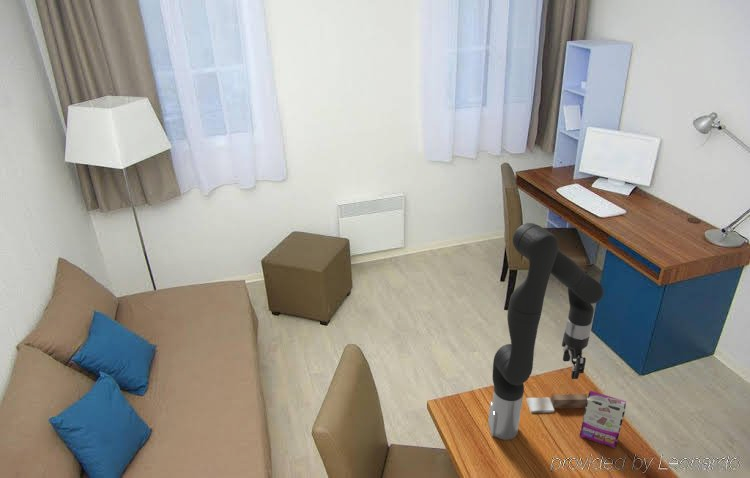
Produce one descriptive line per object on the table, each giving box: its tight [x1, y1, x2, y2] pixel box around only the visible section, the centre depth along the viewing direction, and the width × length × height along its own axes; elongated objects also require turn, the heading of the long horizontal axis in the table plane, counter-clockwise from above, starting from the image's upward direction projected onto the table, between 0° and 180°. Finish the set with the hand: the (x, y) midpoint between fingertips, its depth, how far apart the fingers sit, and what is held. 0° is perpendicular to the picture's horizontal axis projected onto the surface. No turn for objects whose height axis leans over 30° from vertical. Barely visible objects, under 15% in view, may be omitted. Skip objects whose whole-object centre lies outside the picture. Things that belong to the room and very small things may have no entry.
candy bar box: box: [579, 390, 627, 449], centre depth 168 cm, size 11×5×16 cm, turn 62°
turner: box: [525, 393, 588, 414], centre depth 183 cm, size 20×6×4 cm, turn 90°
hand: (570, 369), depth 176 cm, fingers open, 8 cm apart
